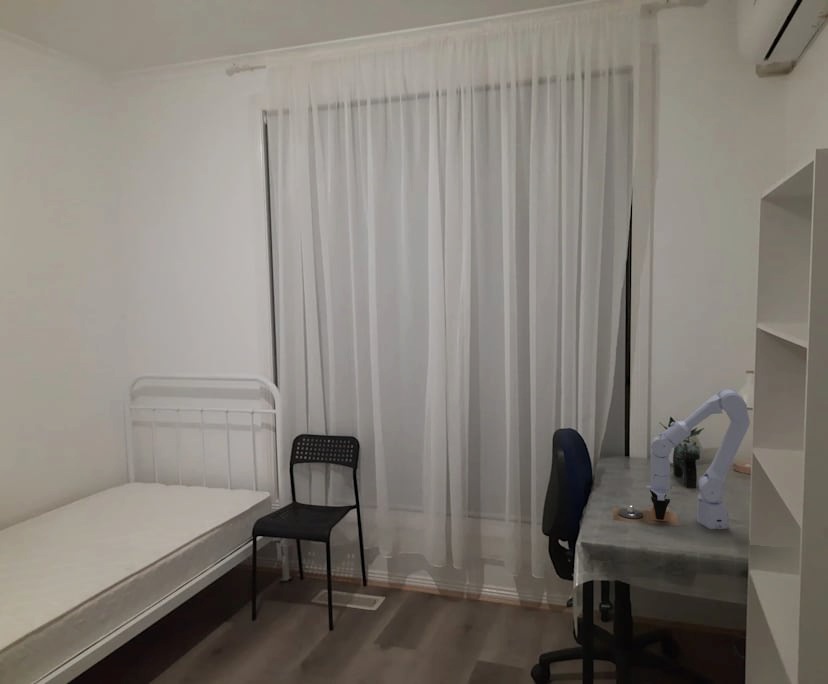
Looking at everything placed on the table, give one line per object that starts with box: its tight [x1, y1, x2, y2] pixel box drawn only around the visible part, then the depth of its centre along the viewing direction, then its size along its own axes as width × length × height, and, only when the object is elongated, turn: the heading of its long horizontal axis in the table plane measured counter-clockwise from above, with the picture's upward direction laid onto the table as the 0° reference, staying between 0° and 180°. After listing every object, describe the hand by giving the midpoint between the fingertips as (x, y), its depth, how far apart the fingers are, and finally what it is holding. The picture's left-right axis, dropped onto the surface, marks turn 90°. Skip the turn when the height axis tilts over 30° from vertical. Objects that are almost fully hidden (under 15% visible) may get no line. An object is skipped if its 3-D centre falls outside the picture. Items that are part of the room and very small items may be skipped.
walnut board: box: [612, 507, 680, 527], centre depth 206 cm, size 20×12×2 cm, turn 72°
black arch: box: [672, 436, 701, 489], centre depth 246 cm, size 20×6×20 cm, turn 173°
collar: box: [649, 504, 670, 521], centre depth 204 cm, size 5×5×3 cm
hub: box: [619, 505, 643, 519], centre depth 207 cm, size 8×8×3 cm
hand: (659, 515), depth 204 cm, fingers open, 7 cm apart
